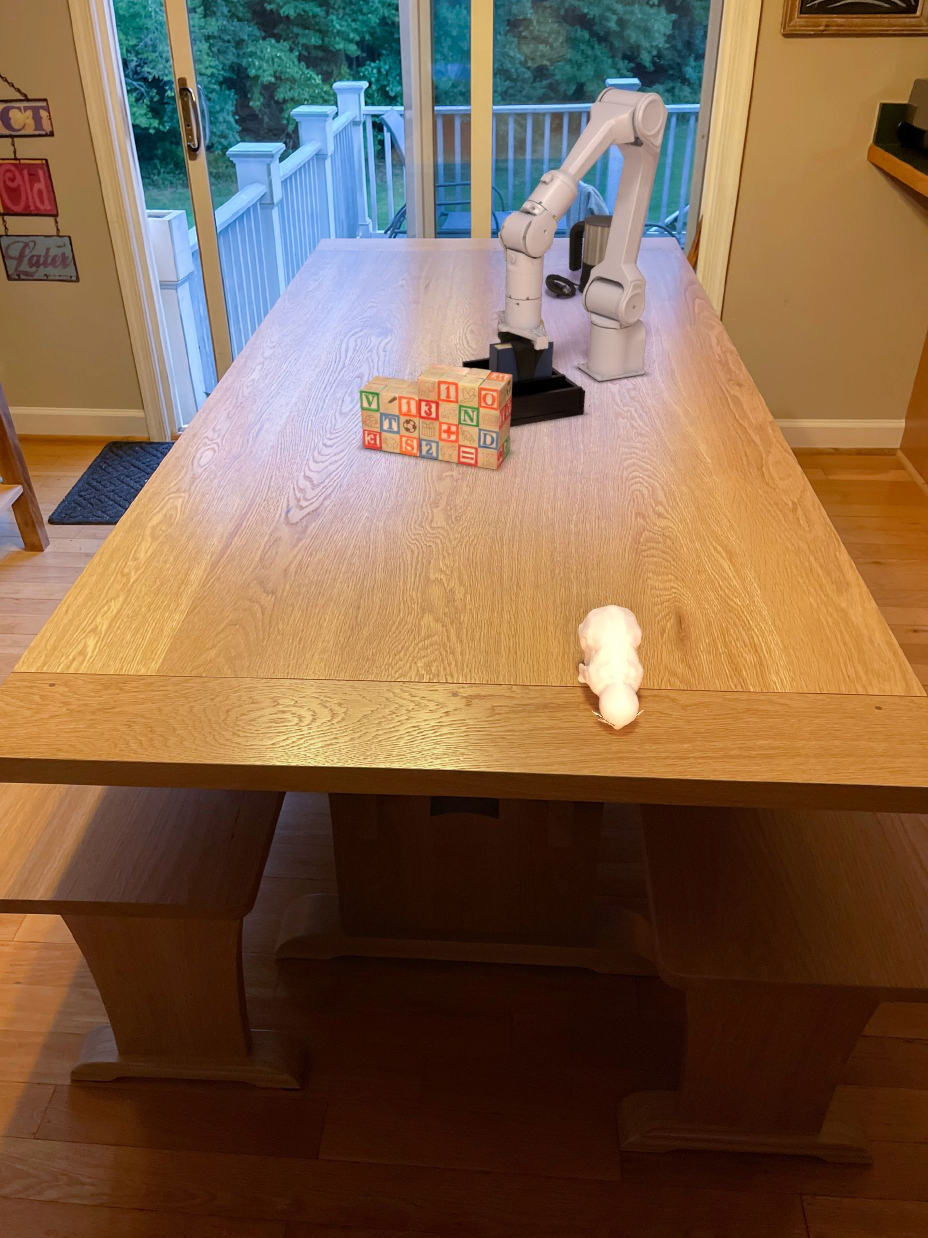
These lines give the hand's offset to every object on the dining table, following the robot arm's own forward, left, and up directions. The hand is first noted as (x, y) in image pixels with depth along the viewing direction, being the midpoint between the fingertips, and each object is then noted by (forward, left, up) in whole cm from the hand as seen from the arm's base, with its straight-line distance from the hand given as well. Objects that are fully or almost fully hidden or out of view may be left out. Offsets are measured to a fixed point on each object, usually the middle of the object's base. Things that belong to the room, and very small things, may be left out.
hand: (520, 378), depth 158 cm
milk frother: (-39, -50, -4) cm, 64 cm away
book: (0, 0, -2) cm, 2 cm away
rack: (0, 0, -4) cm, 4 cm away
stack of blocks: (+20, +13, -4) cm, 24 cm away
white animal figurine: (+25, +74, -4) cm, 78 cm away
